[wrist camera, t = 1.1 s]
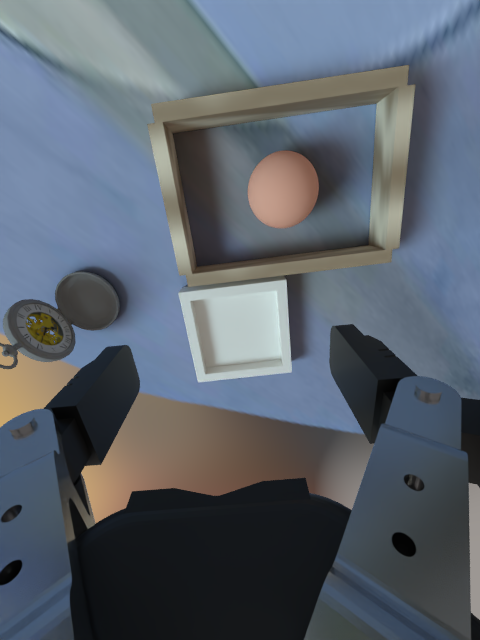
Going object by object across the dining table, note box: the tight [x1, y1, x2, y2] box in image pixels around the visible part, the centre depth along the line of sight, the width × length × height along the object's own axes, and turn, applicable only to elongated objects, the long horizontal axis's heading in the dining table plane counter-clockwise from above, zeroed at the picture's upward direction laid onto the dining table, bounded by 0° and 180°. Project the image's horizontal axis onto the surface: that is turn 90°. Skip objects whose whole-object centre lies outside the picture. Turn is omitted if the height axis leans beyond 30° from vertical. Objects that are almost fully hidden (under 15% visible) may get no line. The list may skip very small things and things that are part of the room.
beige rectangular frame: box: [147, 65, 415, 287], centre depth 24 cm, size 14×20×4 cm
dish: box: [179, 275, 292, 382], centre depth 30 cm, size 11×11×2 cm
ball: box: [248, 151, 319, 228], centre depth 23 cm, size 6×6×6 cm
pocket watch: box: [0, 271, 120, 369], centre depth 26 cm, size 8×8×10 cm
